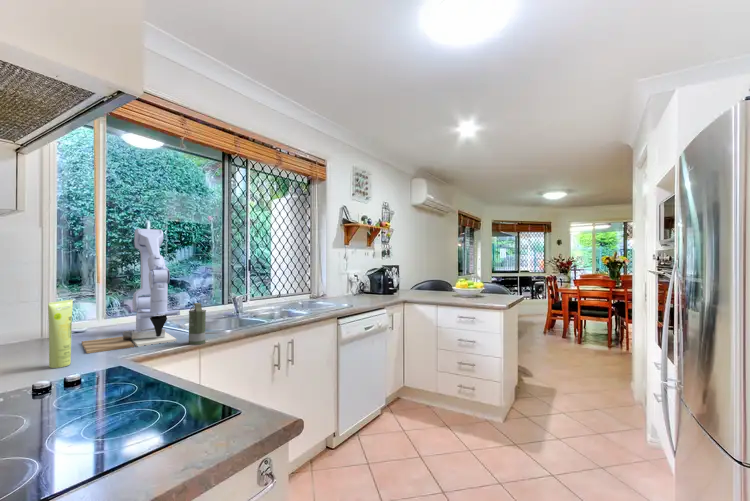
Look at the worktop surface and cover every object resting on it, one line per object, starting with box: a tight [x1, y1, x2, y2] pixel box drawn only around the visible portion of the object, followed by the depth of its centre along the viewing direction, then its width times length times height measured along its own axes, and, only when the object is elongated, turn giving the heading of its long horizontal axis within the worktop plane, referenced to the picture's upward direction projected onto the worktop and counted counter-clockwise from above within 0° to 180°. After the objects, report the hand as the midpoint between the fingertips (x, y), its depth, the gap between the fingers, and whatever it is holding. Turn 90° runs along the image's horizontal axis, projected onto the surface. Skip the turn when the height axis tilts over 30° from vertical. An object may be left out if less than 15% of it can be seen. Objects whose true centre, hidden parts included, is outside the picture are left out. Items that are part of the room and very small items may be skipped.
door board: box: [131, 328, 178, 347], centre depth 146 cm, size 18×13×3 cm
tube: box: [47, 298, 74, 369], centre depth 111 cm, size 6×5×20 cm
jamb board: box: [81, 335, 135, 355], centre depth 137 cm, size 18×14×1 cm
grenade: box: [187, 302, 207, 346], centre depth 141 cm, size 6×6×15 cm
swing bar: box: [122, 328, 166, 340], centre depth 144 cm, size 14×4×3 cm, turn 117°
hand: (158, 335), depth 144 cm, fingers closed
